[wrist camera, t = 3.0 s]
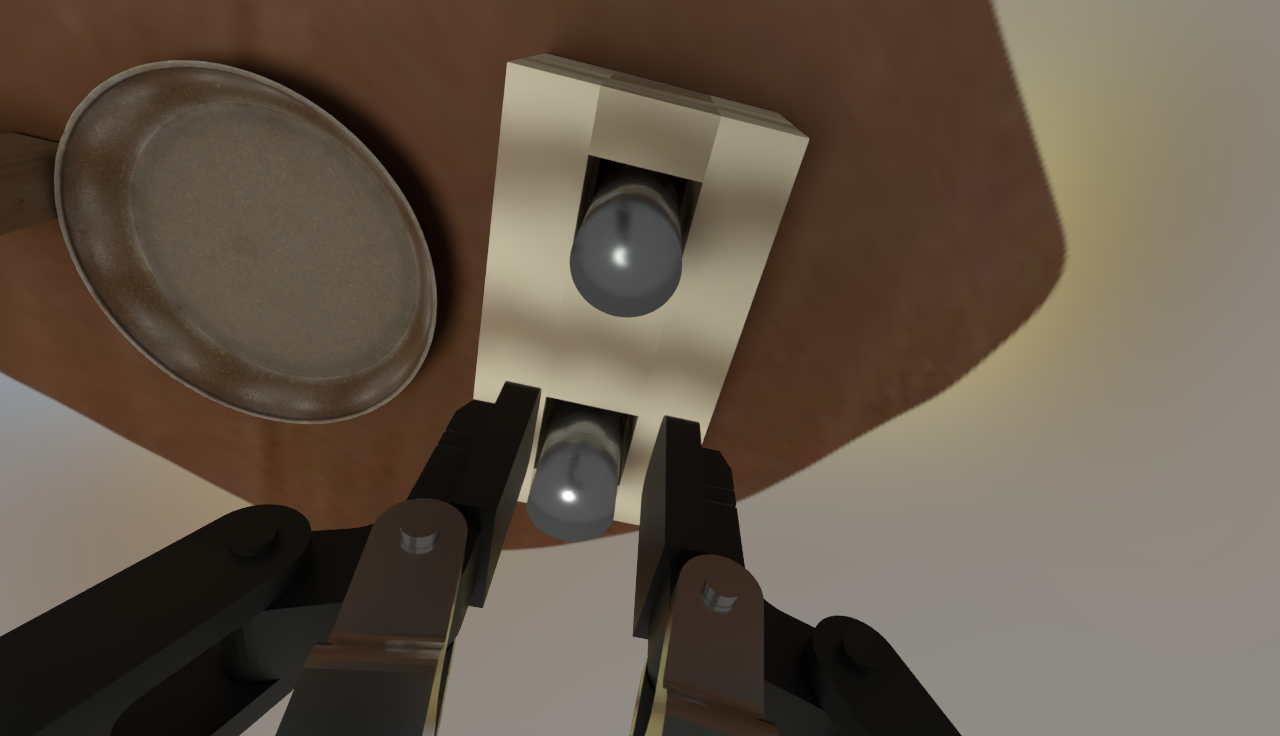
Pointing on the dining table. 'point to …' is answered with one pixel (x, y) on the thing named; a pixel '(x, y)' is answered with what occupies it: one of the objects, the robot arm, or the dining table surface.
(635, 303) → the inner peg
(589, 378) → the birch block
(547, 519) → the outer peg
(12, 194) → the wooden block
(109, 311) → the plant saucer
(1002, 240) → the dining table surface
